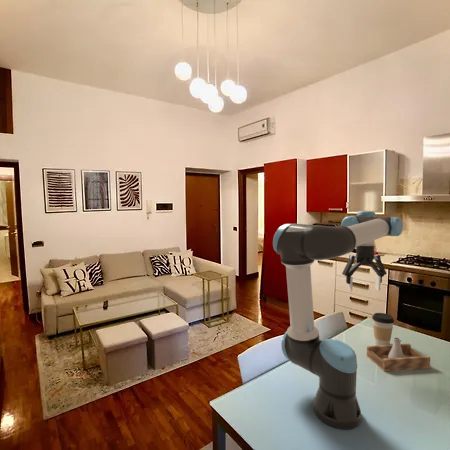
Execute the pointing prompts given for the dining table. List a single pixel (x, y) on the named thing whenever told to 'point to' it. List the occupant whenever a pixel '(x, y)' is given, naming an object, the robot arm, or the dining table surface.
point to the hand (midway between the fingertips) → (363, 290)
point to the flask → (396, 349)
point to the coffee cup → (382, 328)
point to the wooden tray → (395, 364)
